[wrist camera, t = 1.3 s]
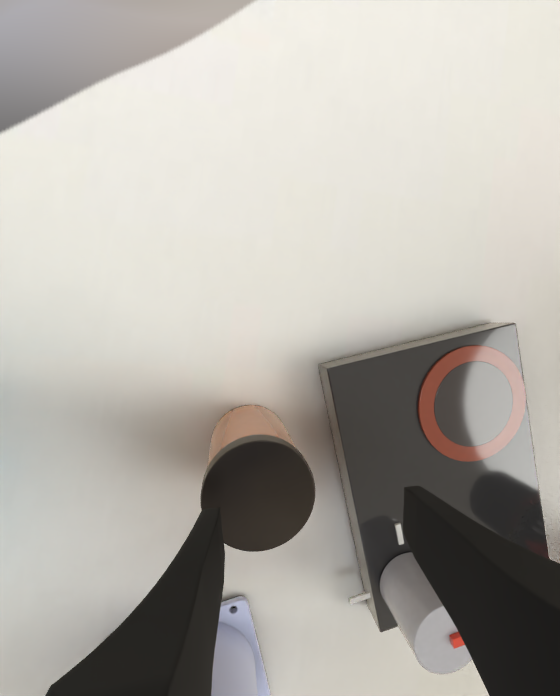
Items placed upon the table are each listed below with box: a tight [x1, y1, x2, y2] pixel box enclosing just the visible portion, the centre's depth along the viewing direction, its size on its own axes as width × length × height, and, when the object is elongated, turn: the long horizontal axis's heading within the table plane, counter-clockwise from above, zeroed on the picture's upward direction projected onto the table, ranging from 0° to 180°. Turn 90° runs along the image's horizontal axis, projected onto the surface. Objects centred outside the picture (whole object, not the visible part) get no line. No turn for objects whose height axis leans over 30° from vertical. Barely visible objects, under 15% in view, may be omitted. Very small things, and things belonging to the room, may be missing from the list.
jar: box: [201, 405, 315, 551], centre depth 19 cm, size 5×5×7 cm
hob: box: [318, 323, 549, 632], centre depth 23 cm, size 15×19×2 cm
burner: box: [418, 345, 526, 462], centre depth 22 cm, size 8×8×1 cm
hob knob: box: [380, 552, 472, 674], centre depth 20 cm, size 4×4×4 cm
